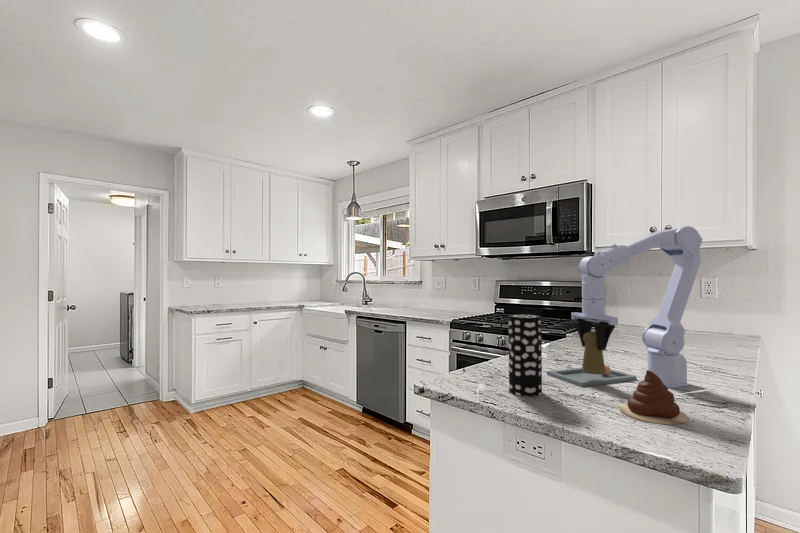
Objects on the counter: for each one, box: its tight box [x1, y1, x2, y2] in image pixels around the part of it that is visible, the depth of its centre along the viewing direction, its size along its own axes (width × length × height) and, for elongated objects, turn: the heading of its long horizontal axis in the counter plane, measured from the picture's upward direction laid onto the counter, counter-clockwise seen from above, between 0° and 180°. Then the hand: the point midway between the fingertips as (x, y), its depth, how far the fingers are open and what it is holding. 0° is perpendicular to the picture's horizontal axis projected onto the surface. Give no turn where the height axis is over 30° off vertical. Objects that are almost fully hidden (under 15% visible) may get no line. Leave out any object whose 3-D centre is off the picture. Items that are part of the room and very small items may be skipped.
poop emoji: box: [626, 369, 681, 418], centre depth 92 cm, size 10×8×9 cm
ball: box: [602, 364, 611, 376], centre depth 124 cm, size 3×3×3 cm
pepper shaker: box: [581, 331, 606, 374], centre depth 115 cm, size 6×6×11 cm
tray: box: [546, 367, 638, 388], centre depth 122 cm, size 20×14×2 cm
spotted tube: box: [508, 314, 543, 397], centre depth 109 cm, size 8×8×20 cm
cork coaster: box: [619, 403, 689, 426], centre depth 92 cm, size 13×13×1 cm
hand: (593, 348), depth 115 cm, fingers open, 5 cm apart
